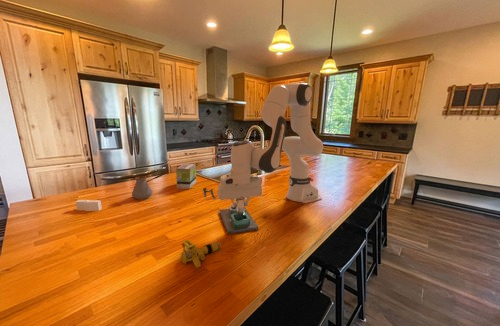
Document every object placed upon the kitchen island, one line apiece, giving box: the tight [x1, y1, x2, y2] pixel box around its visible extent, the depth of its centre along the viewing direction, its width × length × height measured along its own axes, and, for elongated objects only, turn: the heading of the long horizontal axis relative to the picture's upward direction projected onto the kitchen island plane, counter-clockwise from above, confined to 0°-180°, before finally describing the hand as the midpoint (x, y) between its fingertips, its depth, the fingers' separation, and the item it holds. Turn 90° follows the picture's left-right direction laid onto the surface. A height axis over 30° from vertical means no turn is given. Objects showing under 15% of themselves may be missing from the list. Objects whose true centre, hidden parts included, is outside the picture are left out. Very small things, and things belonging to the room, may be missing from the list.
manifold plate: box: [218, 205, 259, 236], centre depth 100 cm, size 14×22×4 cm, turn 18°
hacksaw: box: [203, 187, 218, 201], centre depth 134 cm, size 24×10×2 cm, turn 14°
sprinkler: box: [179, 239, 221, 268], centre depth 76 cm, size 19×4×15 cm
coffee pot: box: [131, 171, 169, 201], centre depth 127 cm, size 21×12×15 cm, turn 111°
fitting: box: [235, 196, 246, 217], centre depth 94 cm, size 4×4×10 cm
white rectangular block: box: [75, 199, 103, 212], centre depth 109 cm, size 15×11×6 cm
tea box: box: [175, 163, 197, 190], centre depth 149 cm, size 15×10×15 cm
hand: (240, 206), depth 94 cm, fingers closed on fitting, 4 cm apart
